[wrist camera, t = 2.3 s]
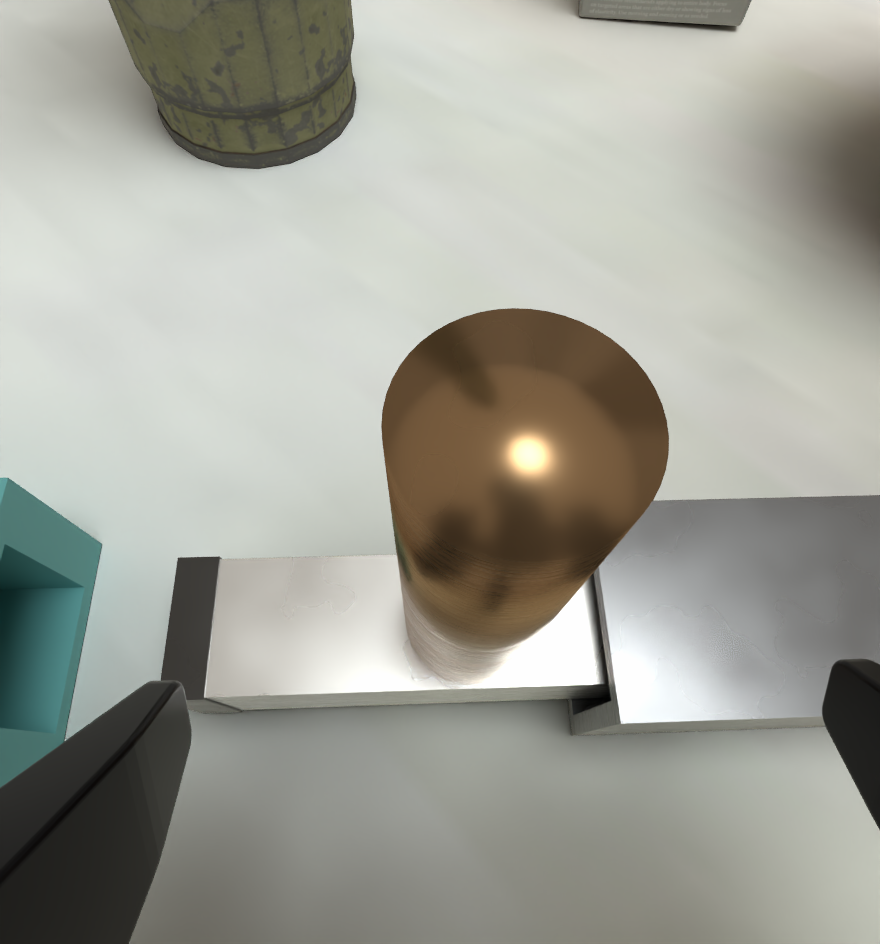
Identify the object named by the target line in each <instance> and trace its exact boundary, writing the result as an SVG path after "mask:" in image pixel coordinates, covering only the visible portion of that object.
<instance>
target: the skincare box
mask: <svg viewBox="0 0 880 944" xmlns="http://www.w3.org/2000/svg"><path fill="white" fill-rule="evenodd" d="M750 2H751V0H580V3H579V16H580V17H591V18H608V19H626V20H643V21H661V22H679V23H696V24H713V25H729V26H739V25H740V24H741V23H742V21H743V19H744V17H745V14H746V12H747V10H748V7H749V5H750Z"/></svg>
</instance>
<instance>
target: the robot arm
mask: <svg viewBox="0 0 880 944" xmlns="http://www.w3.org/2000/svg"><path fill="white" fill-rule="evenodd" d="M822 717H823V721H824V724H825V726H826V728H827V730H828V732H829V734H830V736H831V738H832V740H833V742H834V744H835V746H836V748H837V750H838V752H839V753H840V755H841V757H842V759H843V761H844V763H845V765H846V767H847V769H848V771H849V773H850V775H851V777H852V779H853V780H854V782H855V784H856V786H857V788H858V790H859V792H860V794H861V796H862V798H863V800H864V802H865V804H866V806H867V807H868V809H869V811H870V813H871V815H872V817H873V819H874V820H875V822H876V824H877V826H878V828H879V829H880V664H878V663H876V662H874V661H871V660H868V659H841V660H838V661H836V662H835V663H834V664H833V666H832V668H831V671H830V675H829V679H828V683H827V687H826V692H825V696H824V700H823V704H822ZM190 744H191V724H190V719H189V713H188V708H187V702H186V697H185V691H184V688H183V686H182V684H181V683H180V682H179V681H177V680H168V681H150V682H148V683H146V684H144V685H143V686H142V687H140V688H139V689H137V690H136V691H135V692H133V693H132V694H130V695H129V696H128V697H126V698H125V699H123V700H122V701H121V702H119V703H118V704H116V705H115V706H114V707H112V708H111V709H109V710H108V711H107V712H105V713H104V714H102V715H101V716H100V717H98V718H97V719H95V720H94V721H93V722H91V723H90V724H88V725H87V726H86V727H84V728H83V729H81V730H80V731H79V732H77V733H76V734H74V735H73V736H72V737H70V738H69V739H67V740H66V741H65V742H63V743H62V744H60V745H59V746H58V747H56V748H55V749H53V750H52V751H51V752H49V753H48V754H46V755H45V756H44V757H42V758H41V759H39V760H38V761H37V762H35V763H34V764H32V765H31V766H30V767H28V768H27V769H25V770H24V771H23V772H21V773H20V774H18V775H17V776H16V777H14V778H13V779H11V780H10V781H9V782H7V783H6V784H4V785H3V786H2V787H0V944H129V941H130V939H131V936H132V933H133V931H134V928H135V926H136V923H137V920H138V918H139V915H140V912H141V910H142V907H143V904H144V902H145V899H146V896H147V894H148V891H149V889H150V886H151V883H152V881H153V878H154V875H155V872H156V869H157V866H158V864H159V861H160V858H161V854H162V851H163V847H164V844H165V840H166V836H167V833H168V829H169V825H170V821H171V817H172V814H173V810H174V806H175V802H176V798H177V795H178V791H179V787H180V783H181V779H182V776H183V772H184V768H185V764H186V760H187V757H188V753H189V749H190Z"/></svg>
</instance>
